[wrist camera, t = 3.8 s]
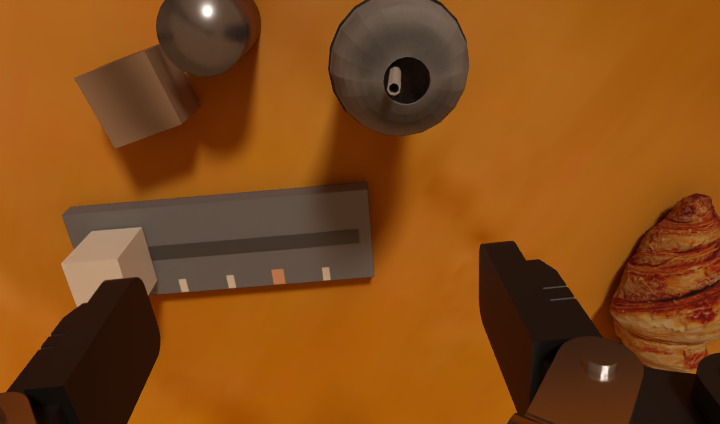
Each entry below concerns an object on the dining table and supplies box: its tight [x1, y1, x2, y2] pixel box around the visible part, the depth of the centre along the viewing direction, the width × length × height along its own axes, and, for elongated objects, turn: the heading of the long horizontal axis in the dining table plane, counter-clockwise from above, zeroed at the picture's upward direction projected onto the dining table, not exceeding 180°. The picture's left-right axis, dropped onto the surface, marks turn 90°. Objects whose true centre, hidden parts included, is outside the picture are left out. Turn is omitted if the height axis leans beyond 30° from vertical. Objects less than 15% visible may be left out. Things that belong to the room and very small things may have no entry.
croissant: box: [609, 193, 720, 373], centre depth 45 cm, size 21×10×8 cm, turn 4°
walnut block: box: [74, 44, 200, 149], centre depth 36 cm, size 5×5×5 cm
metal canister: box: [156, 0, 261, 77], centre depth 34 cm, size 5×5×7 cm
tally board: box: [62, 182, 374, 295], centre depth 43 cm, size 24×8×2 cm, turn 95°
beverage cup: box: [328, 0, 469, 136], centre depth 29 cm, size 7×7×20 cm
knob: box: [61, 227, 157, 307], centre depth 40 cm, size 4×5×5 cm
